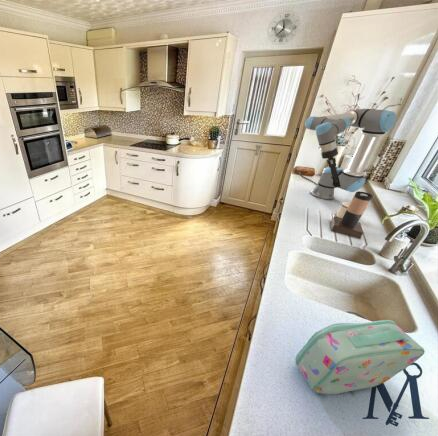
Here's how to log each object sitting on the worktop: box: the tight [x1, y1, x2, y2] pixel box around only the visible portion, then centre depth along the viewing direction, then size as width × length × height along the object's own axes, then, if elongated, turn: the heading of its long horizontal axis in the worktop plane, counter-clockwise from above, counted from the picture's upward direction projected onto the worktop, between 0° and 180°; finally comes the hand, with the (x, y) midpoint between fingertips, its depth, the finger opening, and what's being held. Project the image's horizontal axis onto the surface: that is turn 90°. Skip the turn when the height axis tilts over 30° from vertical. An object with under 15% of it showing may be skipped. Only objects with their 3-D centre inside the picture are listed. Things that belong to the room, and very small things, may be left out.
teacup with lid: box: [335, 200, 352, 218], centre depth 156 cm, size 12×9×12 cm
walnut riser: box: [330, 215, 364, 239], centre depth 143 cm, size 14×14×4 cm
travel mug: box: [341, 190, 374, 227], centre depth 136 cm, size 8×8×20 cm
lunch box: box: [294, 319, 426, 396], centre depth 64 cm, size 27×10×21 cm, turn 99°
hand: (336, 183), depth 141 cm, fingers open, 13 cm apart
